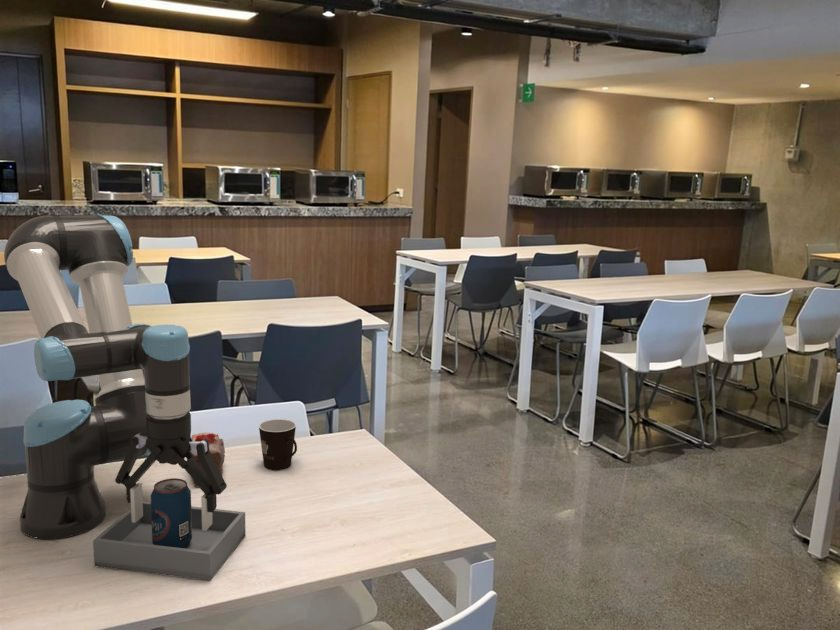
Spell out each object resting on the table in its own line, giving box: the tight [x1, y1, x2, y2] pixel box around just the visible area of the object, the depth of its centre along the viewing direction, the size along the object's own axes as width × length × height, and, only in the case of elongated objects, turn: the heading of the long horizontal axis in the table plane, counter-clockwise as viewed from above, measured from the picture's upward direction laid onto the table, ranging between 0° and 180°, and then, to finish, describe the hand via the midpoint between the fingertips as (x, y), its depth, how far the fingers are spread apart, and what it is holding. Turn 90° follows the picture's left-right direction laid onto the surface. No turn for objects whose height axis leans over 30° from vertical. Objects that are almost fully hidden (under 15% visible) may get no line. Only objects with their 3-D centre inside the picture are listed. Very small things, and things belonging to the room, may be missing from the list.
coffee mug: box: [258, 418, 298, 472], centre depth 170 cm, size 12×9×10 cm
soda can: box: [150, 478, 192, 548], centre depth 131 cm, size 7×7×12 cm
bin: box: [92, 500, 246, 582], centre depth 132 cm, size 22×16×5 cm
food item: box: [190, 432, 226, 488], centre depth 164 cm, size 14×8×10 cm, turn 20°
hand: (172, 523), depth 132 cm, fingers open, 13 cm apart
